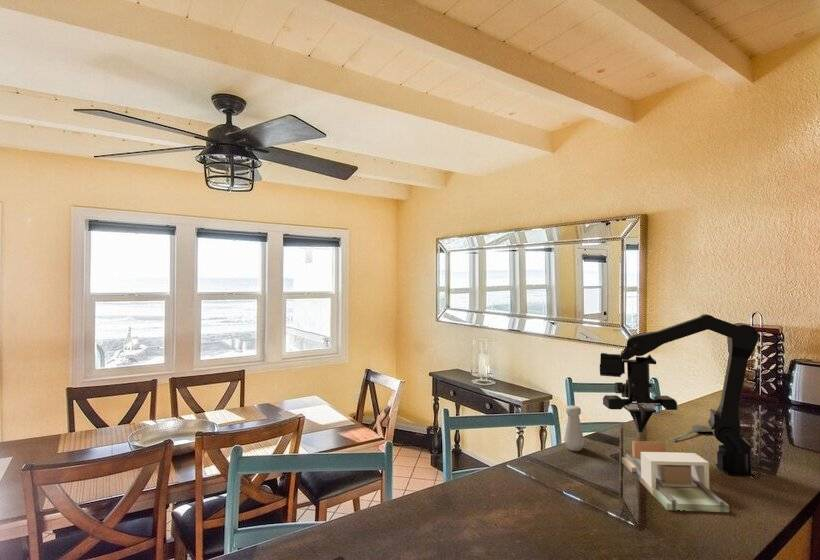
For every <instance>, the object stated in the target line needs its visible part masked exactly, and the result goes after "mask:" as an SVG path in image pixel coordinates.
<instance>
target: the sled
mask: <svg viewBox="0 0 820 560" xmlns="http://www.w3.org/2000/svg"><path fill="white" fill-rule="evenodd" d="M631 448H632V449H631V451H632V453H631V454H632V455H631V457H632V458H633V459H634V460H635V461H636V462H637V463H638V464H639V465H640V466H641V452H666V444H665V442H664V441H660V440H659V441H656V440H655V441H651V440H647V441H646V440H631ZM656 481H657V482H658V483H659V484H660V485H661V486H662V487H696V488H697V485H696V484H695V483H694V482H693V481H692V480H691V465H656Z"/></svg>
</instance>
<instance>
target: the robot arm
mask: <svg viewBox="0 0 820 560" xmlns="http://www.w3.org/2000/svg"><path fill="white" fill-rule="evenodd" d="M708 330H709V331H711V332H715V333H716V334H719V335H722V336H725V337H727V338H726V339H727V341H726V342H727V344H726V345H727V350H728V359H727V364H726V365H727V366H726V370H725V376H724V381H723V387H722V393H721V397H720V403H719V405H718V407H717V408H716V409H713V408H710V410H709V411H710V412H709V413H710V415H709V416H710V417H709V419H708V421H707V423H708V425H709V427H710V428H711V430H712V434H713V436H714V437H715V439H716V440H717V441H718V442H719V443H721V444H719V445H718V450H717V451H716V457H717V459H716V463H715V467H717V468H719V470H721V471H723V473H725V474H727V475H729V476H742V477H745V476H746V477H747V476H748V477H755V476H756V473H754V472H753V471H752V456H751V455H752V452H751V451H752V450H751V449H752V446H751V445H750V443H749V442H748V441H747V439H746V438H745V436H743V434H741V421H740V415H739V414H740V413H739V410H740V404H741V399H742V395H743V394H742V393H743V389H744V383H745V379H746V372H747V368H748V367H747V366H748V362H749V359H750V358H751V356H752V354H753V353H754V351H755V349H756V346H757V344H758V342H759V339H760V335H759V331H758V330H757V329H756V328H755V327H753V326H751V325H748V324H746V323H742V322H736V323H731V322H729V321H726V320H723V319H720V318H716V317H715V316H713V315H710V314H707V313H705V314H700V315H699V316H697V317H694V318H692V319H689V320H685V321H682V322H679V323H677V324H674V325H671V326H669V327H665V328H662V329H660V330H656V331H648V332H640V333H636V334H632V335H630V336H629V337H628V338H627V340H626V346H625V348H624V349H623V350H621V352H620V354H618V353H617V354H615V353H606V352H601V353H600V357H599V358H600V362H599V375H600V376H601V377H612V378H613V377H614V378H621V377H622V376H623V374H624V375H625V374H626V375H627V377H626V378H627V379H625V384H623V382H618V381H617V382H614V393H615V394H616V395H615V394H614V395H608V394H606V395H604V396H603V398H602V405H603V406H605V407H606V408H607V409H608V410H622V409H625V410H626V411H627V412H628V413H630V415H631V417H632V420H633V423H634V425H635V427H636V430H637V432H638V433H640V434H641V433H643V431H644V430H645V429H646V428H645V427H646V425H647V424H648V422H649V420H650V419H651V417H652V415H653V414H654V413H655V414H656V413H657V410H656V409H655V407H656V406H657V407H659V406H660V407H663V408H664V409H665V410H667V411H678V402H677V400H676V399H675V398H672V397H671V396H669V395H654V397H653V398H652V397H651V388H653V386H652V383H650V382H651V381H650V378H651V377H650V365H656V364H657V361H656V359H654V358H653V357H652V354H648V353H650V352H652V351H654V350H656V349H658V348H659V347H661V346H662V345H665V344H668V343H671V342H674V341H677V340H680V339H683V338H686V337H688V336H693V335H695V334H698V333H701V332H704V331H708ZM646 354H648V355H647V356H646V357H645V356H644V355H646ZM633 357H635V359H632V358H633ZM625 364H626V366H627V367H625ZM625 370H627V373H626V371H625ZM617 394H621V397H622V398H621V397H620V396H618V395H617Z"/></svg>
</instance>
